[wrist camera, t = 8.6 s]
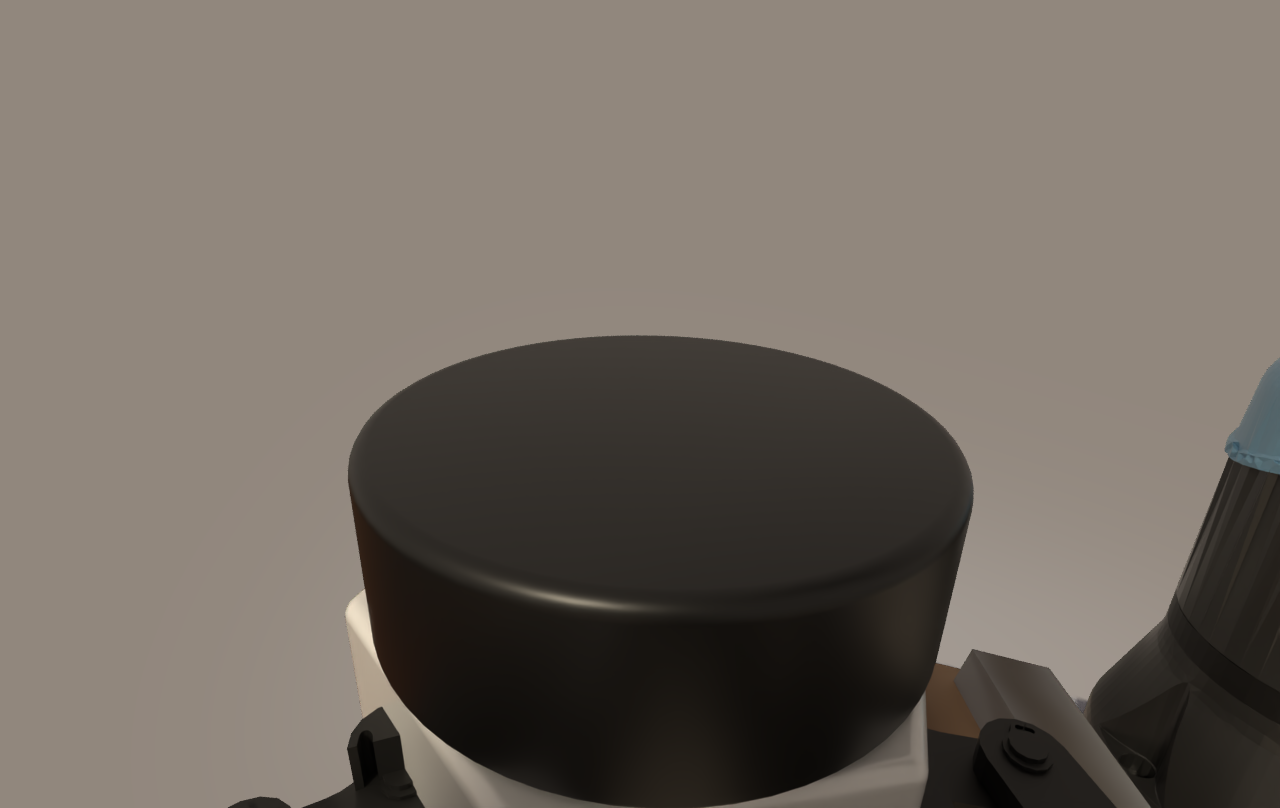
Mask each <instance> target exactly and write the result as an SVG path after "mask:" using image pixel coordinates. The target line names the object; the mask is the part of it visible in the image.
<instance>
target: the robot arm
mask: <svg viewBox="0 0 1280 808" xmlns="http://www.w3.org/2000/svg"><path fill="white" fill-rule="evenodd" d="M1225 452H1226V453H1228V456H1229V458H1228V461H1227V463H1226V466H1225V468H1224V471H1223V473H1222V476H1221V478H1220V481H1219V483H1218V486H1217V488H1216V491H1215V493H1214V496H1213V498H1212V501H1211V503H1210V506H1209V508H1208V511H1207V513H1206V516H1205V518H1204V521H1203V523H1202V526H1201V528H1200V531H1199V533H1198V536H1197V538H1196V541H1195V543H1194V546H1193V548H1192V551H1191V553H1190V556H1189V558H1188V560H1187V563H1186V565H1185V568H1184V571H1183V573H1182V575H1181V578H1180V580H1179V582H1178V586H1177V589H1176V591H1175V594H1174V596H1173V599H1172V601H1171V604H1170V606H1169V609H1168V611H1167V614H1166V616H1165V617H1164V619H1163V620H1162V621H1161V622H1160V623H1159V624H1158V625H1157V626H1156V627H1155V628H1153V630H1151V631H1150V632H1149V633H1148V634H1147V635H1146V636H1145V637H1144V638H1143V639H1142V640H1141V641H1139V642H1138V643H1137V644H1136V645H1135V646H1134V647H1133V648H1132V649H1131V650H1130V651H1129V652H1128V653H1127V654H1126V655H1124V656H1123V657H1122V659H1120V660H1119V661H1118V662H1117V663H1116V664H1115V665H1114V666H1113V667H1112V668H1111V669H1109V670H1108V671H1107V672H1106V673H1105V674H1104V675H1103V676H1102V677H1101V678H1100V679H1099V681H1098V682H1097V684H1096V685H1095V687H1094V688H1093V690H1092V692H1091V694H1090V696H1089V699H1088V702H1087V705H1086V707H1085V710H1084V713H1083V715H1084V717H1085V718H1086V719H1087V721H1088V722H1089V723H1090V725H1091V726H1092V728H1093V729H1094V730H1095V732H1096V733H1097V734H1098V736H1099V737H1100V738H1101V740H1102V741H1103V743H1104V744H1105V745H1106V747H1107V748H1108V749H1109V751H1110V752H1111V754H1112V755H1113V756H1114V758H1115V759H1116V760H1117V762H1118V763H1119V764H1120V766H1121V767H1122V769H1123V770H1124V771H1125V773H1126V774H1127V775H1128V777H1129V778H1130V780H1131V781H1132V782H1133V784H1134V785H1135V786H1136V788H1137V789H1138V790H1139V792H1140V793H1141V795H1142V796H1143V797H1144V799H1145V800H1146V801H1147V803H1148V804H1149V806H1150V807H1151V808H1280V358H1279V359H1277V360H1276V361H1275V362H1274V363H1273V364H1272V365H1271V366H1270V367H1269V368H1268V369H1267V371H1266V373H1265V374H1264V375H1263V377H1262V379H1261V381H1260V383H1259V385H1258V387H1257V389H1256V391H1255V394H1254V396H1253V398H1252V400H1251V402H1250V405H1249V406H1248V408H1247V411H1246V413H1245V415H1244V417H1243V419H1242V421H1241V423H1240V426H1239V427H1238V428H1237V429H1236V430H1234V432H1232V433H1231V434H1230V436H1229V437H1228V439H1227V442H1226V447H1225ZM927 741H928V765H929V773H928V779H927V783H926V787H925V791H924V795H923V799H922V803H921V807H920V808H1117V807H1116V806H1115V805H1114V804H1113V803H1112V802H1111V800H1110V799H1109V798H1108V797H1107V796H1106V795H1105V793H1104V792H1103V791H1102V790H1101V789H1100V788H1099V787H1098V785H1097V784H1096V783H1095V782H1094V781H1093V780H1092V778H1091V777H1090V776H1089V775H1088V774H1087V773H1086V772H1085V770H1084V769H1083V768H1082V767H1081V766H1080V765H1079V763H1078V762H1077V761H1076V760H1075V759H1074V758H1073V757H1072V755H1071V754H1070V753H1069V752H1068V751H1067V750H1066V748H1065V747H1064V746H1063V745H1061V744H1060V743H1059V742H1058V741H1057V740H1056V739H1055V738H1054V737H1053V736H1051V735H1050V734H1049V733H1047V732H1045V731H1044V730H1042V729H1040V728H1038V727H1036V726H1035V725H1033V724H1030V723H1027V722H1023V721H1020V720H1017V719H1005V718H998V719H995V720H993V721H990V722H987V723H986V724H985V725H984V727H983V728H982V729H981V731H980V733H979V737H978V738H972V737H966V736H961V735H955V734H949V733H944V732H939V731H936V730H932V729H928V728H927ZM347 750H348V755H349V760H350V765H351V770H352V775H353V781H354V783H352V784H351V785H349V786H348V787H346V788H345V789H343V790H342V791H341V792H339V793H337V794H334V795H332V796H330V797H328V798H326V799H323V800H321V801H319V802H316V803H313V804H310V805H308V806H305V807H303V808H425V807H424V805H423V803H422V802H421V800H420V799H419V797H418V795H417V791H416V789H415V787H414V786H413V781H412V779H411V777H410V776H409V774H408V773H407V771H406V769H405V764H404V757H403V750H402V744H401V737H400V734H399V732H398V731H397V729H396V728H395V726H394V724H393V723H392V721H391V720H390V718H389V717H388V715H387V713H386V712H385V710H384V709H383V707H379V708H377V709H376V710H374V711H373V712H372V713H370V714H369V715H367V716H366V717H365V718H363V719H362V720H361V722H360V723H359V724H358V725H357V727H356V728H355V729H354V731H353V732H352V733H351V737H350V740H349V744H348V747H347ZM228 808H291V807H290V806H289V805H287V804H286V803H284V802H283V801H281V800H280V799H278V798H269V797H257V798H253V799H248V800H244V801H240V802H238V803H236V804H234V805H232V806H230V807H228Z"/></svg>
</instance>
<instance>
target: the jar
mask: <svg viewBox="0 0 1280 808" xmlns="http://www.w3.org/2000/svg"><path fill="white" fill-rule="evenodd" d="M348 483H349V490H350V496H351V503H352V510H353V516H354V522H355V529H356V535H357V541H358V547H359V554H360V560H361V567H362V573H363V580H364V586H365V588H364V589H363V590H362V591H361V592H360V593H359V594H358V595H357V596H355V597H354V598H353V599H352V600H351V601H350V603H349V604H348V606H347V608H346V613H345V618H346V625H347V631H348V636H349V642H350V648H351V654H352V659H353V665H354V671H355V677H356V683H357V689H358V694H359V699H360V706H361V712H362V717H363V718H365V717H366V716H367V715H369V714H370V713H372V712H373V711H374V710H376V709H377V708H379V707H383V709H384V710H385V712H386V713H387V715H388V717H389V718H390V720H391V721H392V723H393V724H394V726H395V728H396V729H397V731H398V732H399V734H400V737H401V744H402V750H403V757H404V764H405V769H406V771H407V773H408V774H409V776H410V777H411V779H412V781H413V786H414V787H415V789H416V791H417V795H418V797H419V799H420V800H421V802H422V803H423V805H424V807H425V808H920V807H921V803H922V799H923V795H924V791H925V787H926V783H927V779H928V773H929V765H928V741H927V716H926V688H927V686H928V683H929V681H930V679H931V676H932V673H933V670H934V666H935V663H936V659H937V655H938V651H939V646H940V642H941V638H942V634H943V630H944V626H945V621H946V617H947V613H948V608H949V605H950V600H951V596H952V592H953V588H954V583H955V579H956V575H957V571H958V567H959V563H960V558H961V554H962V550H963V545H964V541H965V537H966V533H967V529H968V525H969V520H970V516H971V512H972V506H973V482H972V476H971V471H970V469H969V466H968V464H967V461H966V459H965V457H964V455H963V453H962V451H961V450H960V448H959V446H958V445H957V443H956V441H955V440H954V439H953V437H952V436H951V435H950V434H949V433H948V432H947V430H946V429H945V428H944V427H943V426H942V425H941V424H940V423H939V422H937V420H936V419H935V418H933V417H932V416H931V415H930V414H928V413H927V412H926V411H924V410H923V409H922V408H920V407H919V406H918V405H916V404H915V403H913V402H911V401H910V400H909V399H907V398H905V397H904V396H902V395H901V394H899V393H897V392H895V391H893V390H892V389H890V388H888V387H886V386H884V385H882V384H880V383H878V382H876V381H874V380H872V379H869V378H867V377H864V376H862V375H860V374H857V373H855V372H852V371H849V370H847V369H844V368H841V367H838V366H836V365H833V364H830V363H826V362H823V361H820V360H816V359H813V358H809V357H806V356H802V355H798V354H794V353H790V352H785V351H781V350H777V349H771V348H766V347H761V346H756V345H749V344H743V343H737V342H729V341H722V340H713V339H703V338H690V337H676V336H675V337H674V336H638V335H636V336H602V337H587V338H575V339H566V340H557V341H550V342H542V343H536V344H530V345H525V346H520V347H515V348H510V349H505V350H501V351H497V352H493V353H489V354H485V355H482V356H478V357H475V358H472V359H469V360H465V361H462V362H460V363H457V364H454V365H452V366H449V367H447V368H444V369H442V370H439V371H437V372H435V373H432V374H430V375H428V376H427V377H425V378H423V379H421V380H419V381H417V382H415V383H413V384H412V385H410V386H408V387H407V388H405V389H404V390H402V391H400V392H399V393H397V394H396V395H395V396H393V397H392V398H391V399H389V400H388V401H387V402H385V403H384V404H383V405H382V406H381V407H380V408H379V409H378V410H377V411H376V412H375V413H374V414H373V415H372V416H371V417H370V419H369V420H368V421H367V422H366V424H365V425H364V427H363V428H362V430H361V432H360V433H359V435H358V437H357V439H356V441H355V443H354V445H353V448H352V451H351V454H350V458H349V467H348Z"/></svg>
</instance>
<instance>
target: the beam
mask: <svg viewBox="0 0 1280 808" xmlns="http://www.w3.org/2000/svg"><path fill="white" fill-rule="evenodd" d="M926 716H927V728H928V729H932V730H936V731H939V732H944V733H949V734H955V735H961V736H966V737H972V738H978V737H979V733H980V731H981V729H982V728H983V727H984V725H985V724H986V723H987V722H990V721H993V720H995V719H998V718H1005V719H1017V720H1020V721H1023V722H1027V723H1030V724H1033V725H1035V726H1036V727H1038V728H1040V729H1042V730H1044V731H1045V732H1047V733H1049V734H1050V735H1051V736H1053V737H1054V738H1055V739H1056V740H1057V741H1058V742H1059V743H1060V744H1061V745H1063V746H1064V747H1065V748H1066V750H1067V751H1068V752H1069V753H1070V754H1071V755H1072V757H1073V758H1074V759H1075V760H1076V761H1077V762H1078V763H1079V765H1080V766H1081V767H1082V768H1083V769H1084V770H1085V772H1086V773H1087V774H1088V775H1089V776H1090V777H1091V778H1092V780H1093V781H1094V782H1095V783H1096V784H1097V785H1098V787H1099V788H1100V789H1101V790H1102V791H1103V792H1104V793H1105V795H1106V796H1107V797H1108V798H1109V799H1110V800H1111V802H1112V803H1113V804H1114V805H1115V806H1116V807H1117V808H1151V807H1150V806H1149V804H1148V803H1147V801H1146V800H1145V799H1144V797H1143V796H1142V795H1141V793H1140V792H1139V790H1138V789H1137V788H1136V786H1135V785H1134V784H1133V782H1132V781H1131V780H1130V778H1129V777H1128V775H1127V774H1126V773H1125V771H1124V770H1123V769H1122V767H1121V766H1120V764H1119V763H1118V762H1117V760H1116V759H1115V758H1114V756H1113V755H1112V754H1111V752H1110V751H1109V749H1108V748H1107V747H1106V745H1105V744H1104V743H1103V741H1102V740H1101V738H1100V737H1099V736H1098V734H1097V733H1096V732H1095V730H1094V729H1093V728H1092V726H1091V725H1090V723H1089V722H1088V721H1087V719H1086V718H1085V717H1084V715H1083V714H1082V712H1081V711H1080V710H1079V708H1078V707H1077V706H1076V704H1075V703H1074V702H1073V700H1072V699H1071V697H1070V696H1069V695H1068V693H1067V692H1066V691H1065V689H1064V688H1063V686H1062V685H1061V684H1060V682H1059V681H1058V680H1057V678H1056V677H1055V676H1054V674H1053V673H1052V672H1051V670H1050V669H1049V668H1047V667H1042V666H1038V665H1034V664H1030V663H1026V662H1022V661H1018V660H1014V659H1010V658H1006V657H1002V656H998V655H994V654H990V653H986V652H981V651H978V650H974V649H972V651H971V653H970V654H969V656H968V657H967V659H966V661H965V662H964V664H963V666H962V667H961V669H958V668H954V667H950V666H946V665H942V664H937V663H935V666H934V670H933V673H932V676H931V679H930V681H929V683H928V686H927V688H926Z"/></svg>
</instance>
